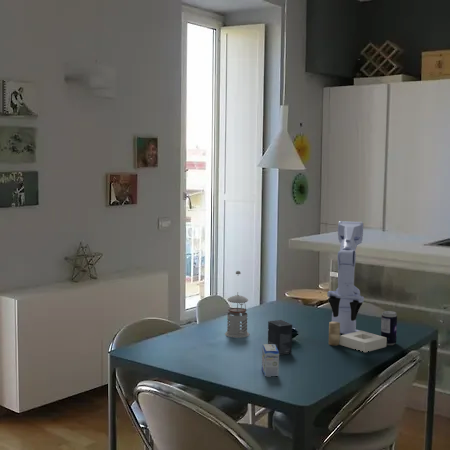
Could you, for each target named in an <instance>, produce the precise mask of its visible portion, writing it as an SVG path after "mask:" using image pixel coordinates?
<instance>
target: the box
mask: <svg viewBox="0 0 450 450" xmlns="http://www.w3.org/2000/svg"><path fill="white" fill-rule="evenodd" d="M267 323H268V324H267V326H268V327H267V344H275V345H276V347H277V349H278V351H279V356H280V355H288V354H289V353H290V354H292V351H293V350H292V347H293V344H292V343H293V324H292V323H289V322H287V321H284V320H282V319H277V320H268V322H267Z"/></svg>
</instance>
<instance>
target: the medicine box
mask: <svg viewBox="0 0 450 450" xmlns="http://www.w3.org/2000/svg"><path fill="white" fill-rule="evenodd" d="M261 351H262V353H261V355H262V356H261V370H262V374H263V375H264V377H265V376H267V377H266V378H272V377H271V376H278V377H279V368H280V364H279V363H280V355H279V351H278V349H277V347H276V345H275V344H268V343H264V344H262V348H261Z"/></svg>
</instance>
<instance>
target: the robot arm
mask: <svg viewBox="0 0 450 450" xmlns="http://www.w3.org/2000/svg"><path fill="white" fill-rule="evenodd" d="M337 236H338V242H339V243H340V247H339V250H338V251H337V260H336V261H337V262H336V263H337V272H338V273H337V288H336V289H335V290H329V291H327V293H326V295H327V297H329V298H328V299H327V301H328V303H329V305H330V307H331V310H332V312H331V322H339V323H340V334H342V335H345V334H349V333H353V332H358V331H361V330H359V329H357V328H356V327H357V316H358V314H359V311H360V308H361V307H362V305H363V303H364V302H365V301H364V300H365V297H364V296H362V295H361V290H360V289H359V288H358V287H357V286H356V285H355V267H356V263H357V262H356V261H357V252H356V250H357V247H358V245H361V244H362V243H363V239H364V238H363V237H364V222H363V221H345V220H344V221H343V220H339V221H338V223H337Z"/></svg>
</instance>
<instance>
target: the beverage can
mask: <svg viewBox="0 0 450 450" xmlns="http://www.w3.org/2000/svg"><path fill="white" fill-rule="evenodd" d="M380 323H381V324H380V326H381V327H380V336H383V337H386V338H387V343H386V346H394V345H395V344H396V343H397V333H398V332H397V330H398V315H397V312H396V311H393V310H384V311H382V314H381V321H380Z"/></svg>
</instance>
